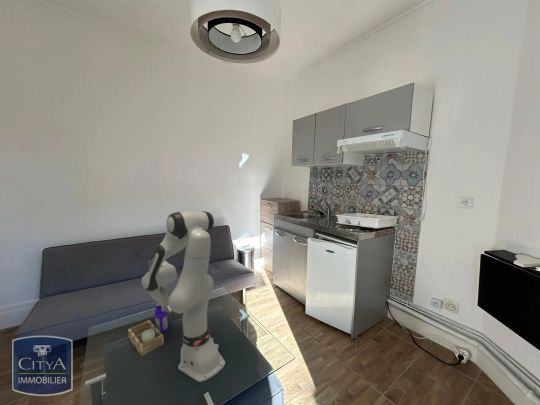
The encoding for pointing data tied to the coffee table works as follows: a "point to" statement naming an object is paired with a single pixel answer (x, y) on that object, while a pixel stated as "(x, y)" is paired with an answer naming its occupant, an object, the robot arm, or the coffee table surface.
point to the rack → (136, 338)
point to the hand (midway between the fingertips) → (159, 307)
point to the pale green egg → (148, 335)
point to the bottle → (160, 318)
